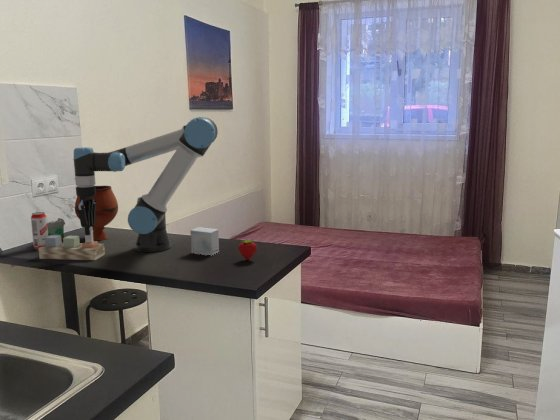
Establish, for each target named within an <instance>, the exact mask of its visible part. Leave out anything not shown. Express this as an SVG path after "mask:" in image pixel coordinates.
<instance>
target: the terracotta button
mask: <svg viewBox="0 0 560 420" xmlns="http://www.w3.org/2000/svg"><path fill="white" fill-rule="evenodd" d="M98 244H99V240H96V241H93V242H92V243H86V241H85V242H83V244H82V248H92V249H94V248H96V247H97V246H98Z"/></svg>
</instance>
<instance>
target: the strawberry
mask: <svg viewBox="0 0 560 420" xmlns="http://www.w3.org/2000/svg"><path fill="white" fill-rule="evenodd" d="M257 249H258V246H257V244H256V243H255V242H254V241H253V240H250V239H249V240H247V239H245V240H240V243H239V244H238V252H239V253H240V254H241V256H242V257H243V258H244V259H245V260H246V261H250V260H251V258H253V256H254V255H255V254H256V252H257Z"/></svg>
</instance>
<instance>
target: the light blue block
mask: <svg viewBox="0 0 560 420" xmlns="http://www.w3.org/2000/svg"><path fill="white" fill-rule="evenodd" d="M62 243H63V242H62V241H61V235H50V236H48V237H45V247H55V248H56V247H58V246H60V245H62Z"/></svg>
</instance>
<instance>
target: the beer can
mask: <svg viewBox="0 0 560 420" xmlns="http://www.w3.org/2000/svg"><path fill="white" fill-rule="evenodd" d="M47 218H48V217H47V215H46V213H45V212H44V211H37V212H33V213H31V216H30V223H31V235H32V242H33V243H32V244H33V249H35V250H36V251H39V248H40V247H42V246H44V245H45V237H48V227H47V223H48V219H47Z"/></svg>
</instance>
